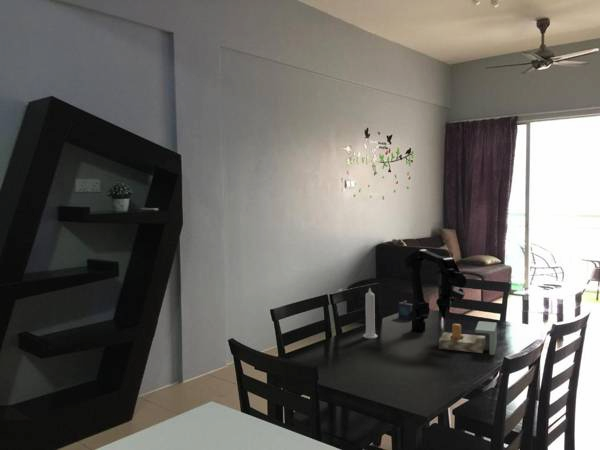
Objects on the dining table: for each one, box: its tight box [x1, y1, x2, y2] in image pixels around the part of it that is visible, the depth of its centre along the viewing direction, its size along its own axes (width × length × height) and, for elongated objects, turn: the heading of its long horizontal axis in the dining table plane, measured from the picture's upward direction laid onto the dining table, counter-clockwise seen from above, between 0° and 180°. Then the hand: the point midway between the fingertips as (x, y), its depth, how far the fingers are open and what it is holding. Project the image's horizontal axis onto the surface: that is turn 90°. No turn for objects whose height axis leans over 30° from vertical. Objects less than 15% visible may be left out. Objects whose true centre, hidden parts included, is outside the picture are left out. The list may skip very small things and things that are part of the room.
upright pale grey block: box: [474, 320, 498, 356], centre depth 228 cm, size 8×16×11 cm, turn 155°
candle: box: [363, 287, 378, 340], centre depth 251 cm, size 7×7×25 cm
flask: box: [398, 300, 413, 321], centre depth 286 cm, size 9×3×11 cm, turn 44°
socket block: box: [438, 331, 486, 354], centre depth 233 cm, size 19×14×4 cm
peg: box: [451, 323, 462, 339], centre depth 234 cm, size 4×4×10 cm
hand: (445, 315), depth 242 cm, fingers open, 9 cm apart
